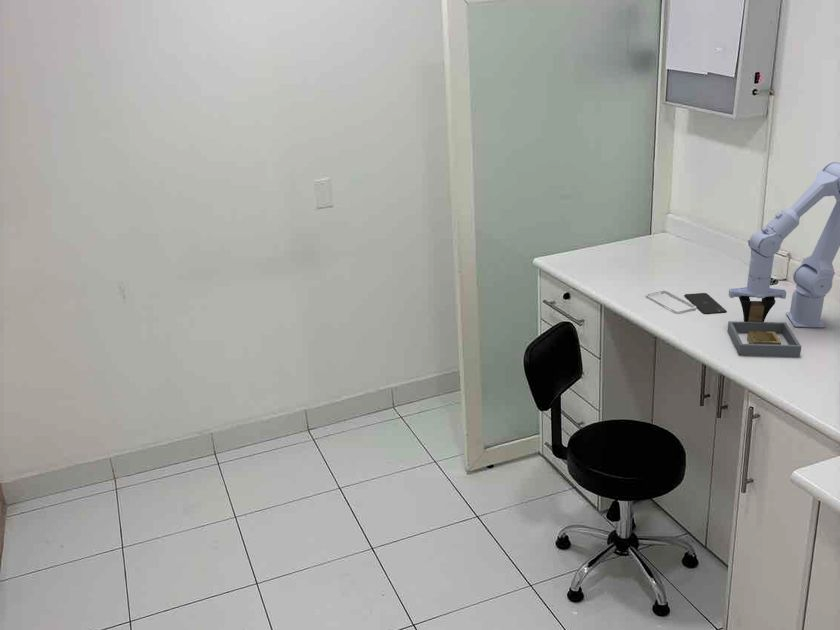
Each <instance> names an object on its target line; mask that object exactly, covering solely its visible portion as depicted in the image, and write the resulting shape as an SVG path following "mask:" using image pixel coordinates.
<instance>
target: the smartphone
mask: <svg viewBox="0 0 840 630" xmlns="http://www.w3.org/2000/svg"><path fill="white" fill-rule="evenodd" d="M683 296H684V298H685V299H686V300H688V302H689V303H691V304H693V305H694V306H696V310H698V311H699V312H700V313H701V314H702V315H715V314H716V315H717V314H726V313H728V311H727V310H726V309H725V307H723V306H722V305H720V303H719V302H718V301H716V300H715V299H714V298H713V297H712V296H711V295H710V294H708V293H706V292H700V293H699V292H697V293H685V294H684V295H683Z"/></svg>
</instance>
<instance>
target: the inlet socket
mask: <svg viewBox="0 0 840 630" xmlns="http://www.w3.org/2000/svg"><path fill="white" fill-rule="evenodd" d="M746 335H747V336H746V341H747V343H748V342H749V343H748V344H774V345H782V342H781V340H780V338H779V337H778V334H776V333H775V332H764V331H748V333H747V334H746Z"/></svg>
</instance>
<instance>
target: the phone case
mask: <svg viewBox="0 0 840 630" xmlns="http://www.w3.org/2000/svg"><path fill="white" fill-rule="evenodd" d="M659 293H660V294H664V295H667V296H669V297H671V298H674V300H677V301H678V302H681V303H682V304H684V305H686V306H688V307H690V308H685V309H681V310H676V309H675V308H674V309H673V307H670V306H669V305H666V304H665V303H663V302H661V301H660V300H657V299H655V298H654V297H652V296H650V295H653V294H654V295H655V294H659ZM645 298H646V299H648V300H649V301H651V302H653V303H654V304H657V305H658V306H660V307H662V308H667V309H668V310H670V311H672V313H673V314H675V315H680V314H684V313H688V312H694V311H697V308H696V306H694V305H693V304H692V303H691V302H690V301H686V300H685V299H683V298H681V297H679V296H676V295H675V294H673V293H671V292H669V291H667V290H664V289H663V290H660V291H655V292H650V293H646V294H645Z"/></svg>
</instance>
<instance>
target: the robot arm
mask: <svg viewBox="0 0 840 630" xmlns="http://www.w3.org/2000/svg"><path fill="white" fill-rule="evenodd" d="M825 197H834V199H835V200H836V202H835V204H834V206H833V208H832V210H831V212H830V215H829V217H828V219H827V221H826V223H825V226H824V227H823V229H822V232H821V234H820V236H819V239H818V240H817V242H816V245H815V247H814V249H813V251H812V253H811V255H810V256H807V257H806V258H803V259H802V262H801V263H800V264H799V266H798V267H796V268H795V270H794V272H793V275H792V279H793V282H794V284H796V286H795V289H794V290H793V292H792V295H791V301H790V310H789V311H787V312H786V313H785V314H786V316H787V317H788V319H789V320H790V322H791V323H792V325H793V327H794V328H823V329H824V328H825V327H826V325H825V324H824V322H823V321H822V314H823V308H824V301H825V297H826V295H827V294H828V293H830V291H831V289H832V287H833V279H834V277H835V274H836V272H835V269H834V266H833V261H834V260H835V258H836V256H837V253H838V251H839V249H840V162H838V161H831V162H828V163H827V164H826V165H825V166H824V167H823V168H822V170H820V171H818V172H817V173H816V176H815V179H814V181H813V182H812V183H811V185H809V187H807V189H806V190H804V192H803V193H802V194H801V196H800V197H798V199H797V200H796V201H795V202H794V203H793V204H792V205H791V206H790V208H787V209H782V210H781V211H778V212H776V213H775V216H774V218H772V220H770V222H769V223H767V224H766V225H765V226H763V227H762V228H761V229H762V230H761V229H760V230H758V231H756V232H754V233H752V235H751V236H750V238H749V239H748V240H747V244H748V246H749V249H750V259H749V260H750V261H749V268H748V273H747V274H748V275H747V276H748V277H747V283H746V287H737V288H729V289H728V296H729V298H730V299H734V298H738V299H739V301H740V305H741V308H742V314H743V322H748V318H749V310H750V306H751V302H750V301H751V298H757V299H761V301H762V303H763V305H764V313H763V320H762V322H765V321H766V318H767V316H768V314H769V313H770V311H771V309H772V308H773V306H775V304H776V299H775V298H777V299H778V298H779V299H782V300H783V299H784V300H785V299H786V297H787V291H786V289H780V288H772V287H771V281H772V272H773V266H774V265H773V264H774V258H775V255H776V254H777V253H778V252H779V251H780V249H781V245H782V243H783V241H784V240H785V239H786V238H787V237H788V236H789V235H790V234H791V233H792V232H793V231H794V230H795V229H797V227H798V226H799V225H800V218H801V217H803V215H805V213H808V211H809V210H810V209H812V208H813V207H814V206H815V205H816V204H818V203H819V201H821V200H822V199H823V198H825Z"/></svg>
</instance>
